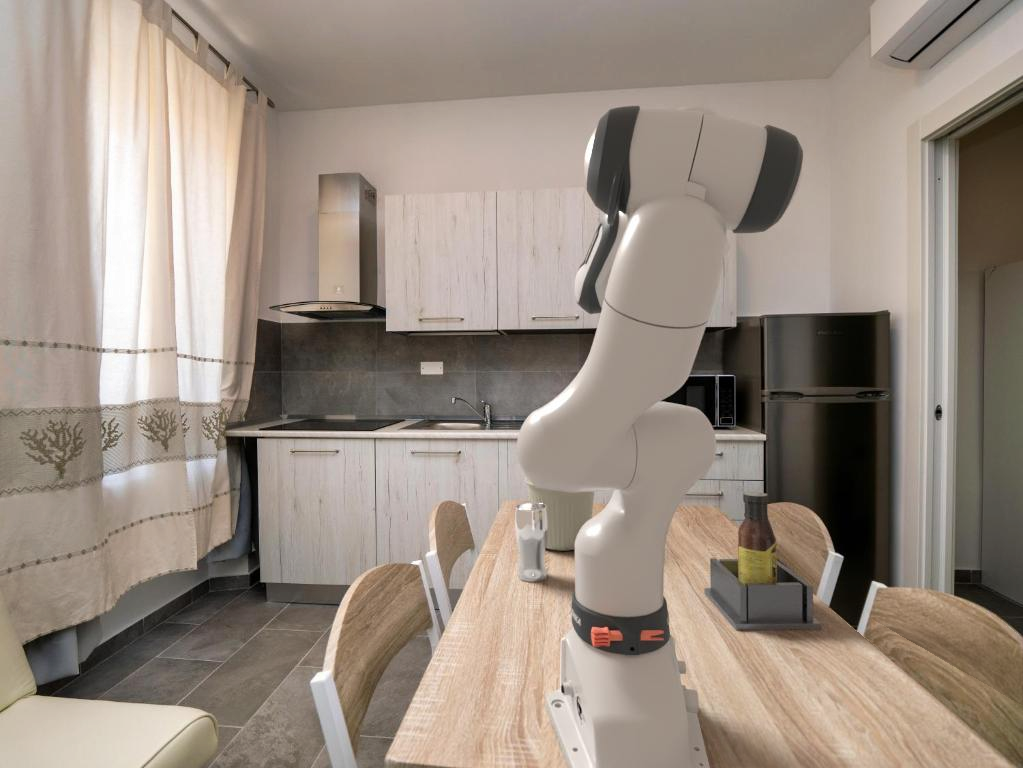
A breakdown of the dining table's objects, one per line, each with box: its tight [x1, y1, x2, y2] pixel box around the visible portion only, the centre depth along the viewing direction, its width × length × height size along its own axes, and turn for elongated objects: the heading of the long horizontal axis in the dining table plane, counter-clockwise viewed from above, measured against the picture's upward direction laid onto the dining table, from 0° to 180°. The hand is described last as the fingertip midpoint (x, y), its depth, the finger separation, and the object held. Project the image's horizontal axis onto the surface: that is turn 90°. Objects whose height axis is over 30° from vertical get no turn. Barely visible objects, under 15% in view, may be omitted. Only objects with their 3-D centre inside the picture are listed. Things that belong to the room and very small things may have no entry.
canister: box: [524, 477, 595, 552], centre depth 126 cm, size 18×18×21 cm
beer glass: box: [514, 501, 548, 583], centre depth 106 cm, size 7×7×15 cm
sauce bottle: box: [737, 491, 778, 585], centre depth 90 cm, size 7×6×20 cm
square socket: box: [703, 557, 822, 631], centre depth 90 cm, size 14×14×7 cm
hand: (639, 400), depth 102 cm, fingers open, 8 cm apart
